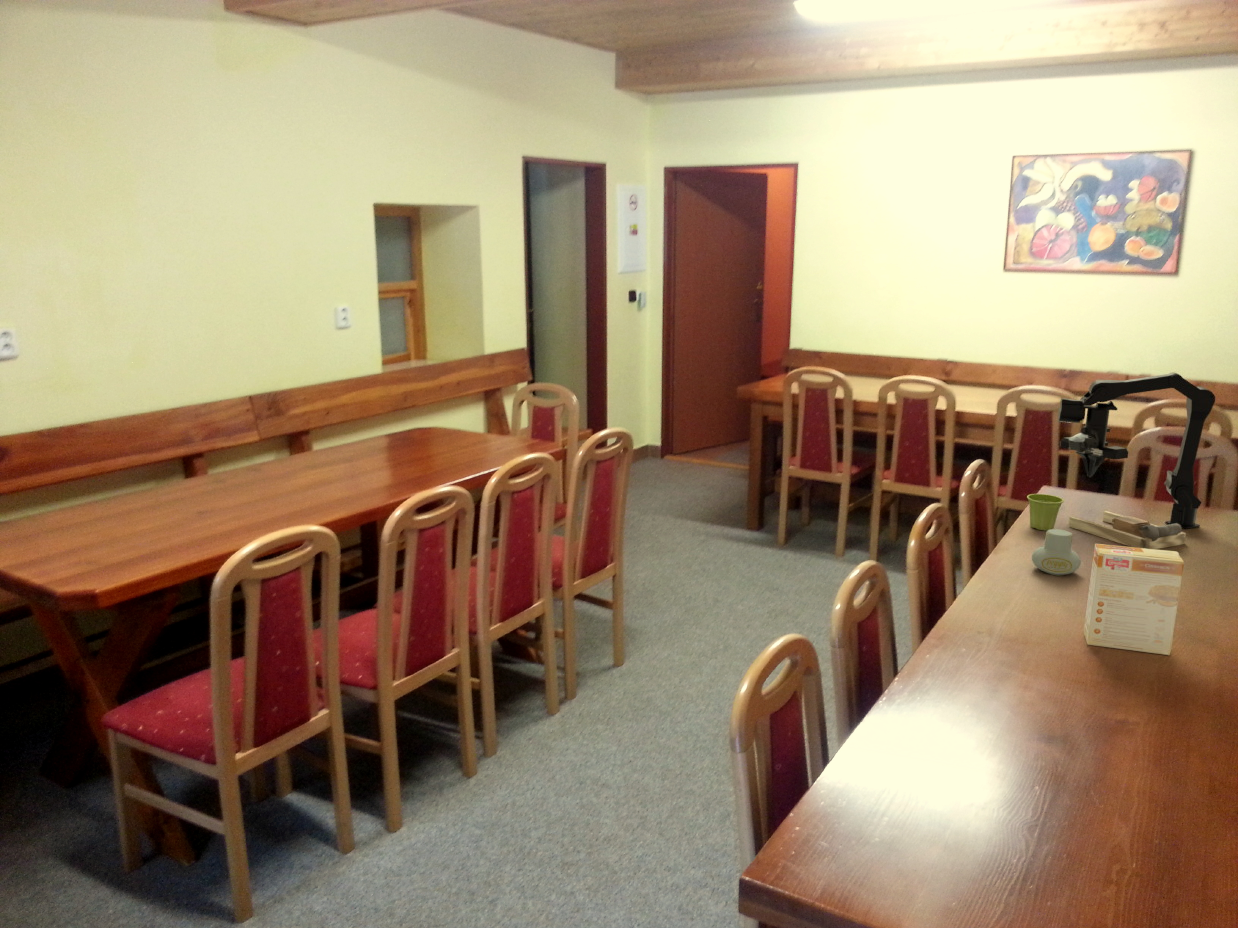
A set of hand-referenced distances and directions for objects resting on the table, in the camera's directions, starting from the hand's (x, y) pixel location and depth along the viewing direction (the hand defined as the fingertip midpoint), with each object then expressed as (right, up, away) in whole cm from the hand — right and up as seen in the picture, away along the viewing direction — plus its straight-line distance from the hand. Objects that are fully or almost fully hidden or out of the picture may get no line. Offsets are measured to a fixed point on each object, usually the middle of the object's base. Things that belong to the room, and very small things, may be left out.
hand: (1089, 476), depth 279 cm
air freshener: (-31, -23, -45) cm, 59 cm away
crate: (+3, -16, -17) cm, 24 cm away
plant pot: (-18, -15, -9) cm, 25 cm away
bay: (+2, -16, -15) cm, 22 cm away
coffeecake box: (-36, -33, -87) cm, 100 cm away
